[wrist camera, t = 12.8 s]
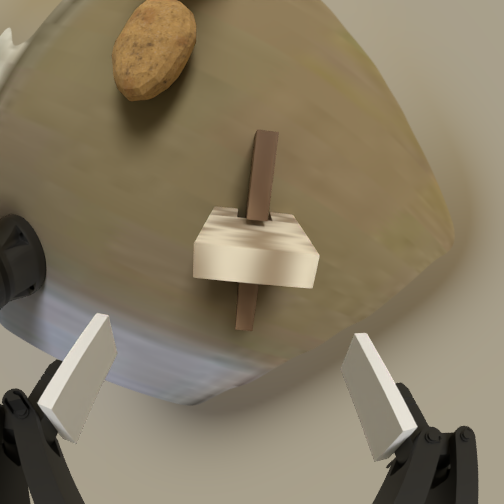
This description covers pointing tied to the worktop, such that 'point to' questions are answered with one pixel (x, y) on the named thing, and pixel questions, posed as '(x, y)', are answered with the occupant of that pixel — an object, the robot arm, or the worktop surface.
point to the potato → (153, 48)
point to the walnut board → (257, 214)
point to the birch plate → (254, 250)
